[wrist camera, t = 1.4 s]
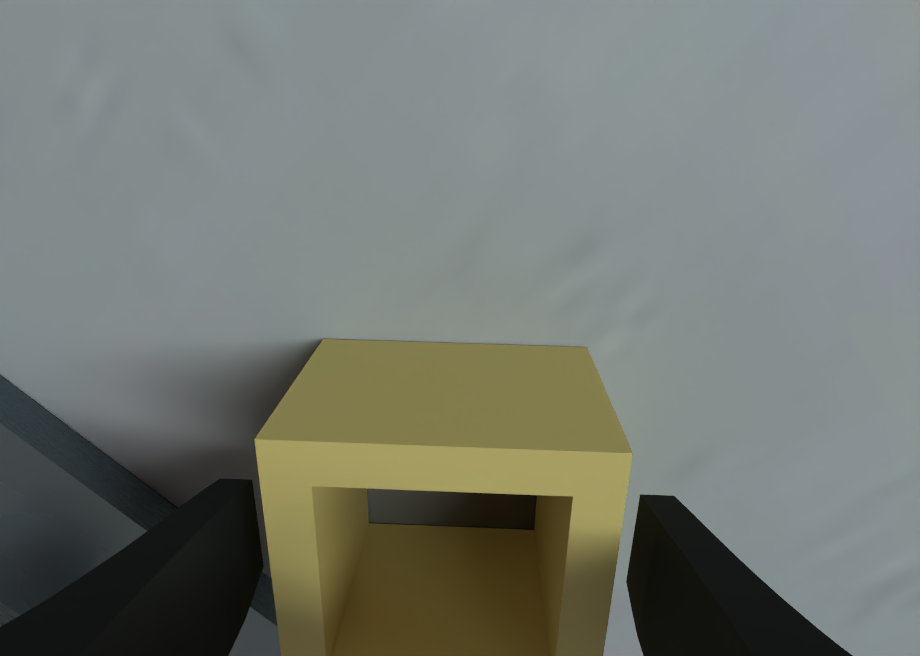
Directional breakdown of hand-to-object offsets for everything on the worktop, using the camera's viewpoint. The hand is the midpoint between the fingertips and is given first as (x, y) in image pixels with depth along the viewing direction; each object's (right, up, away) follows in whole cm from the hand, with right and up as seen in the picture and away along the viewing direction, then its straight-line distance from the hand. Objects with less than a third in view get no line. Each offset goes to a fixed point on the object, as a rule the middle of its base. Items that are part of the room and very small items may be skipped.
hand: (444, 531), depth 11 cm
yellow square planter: (0, +1, +3) cm, 3 cm away
